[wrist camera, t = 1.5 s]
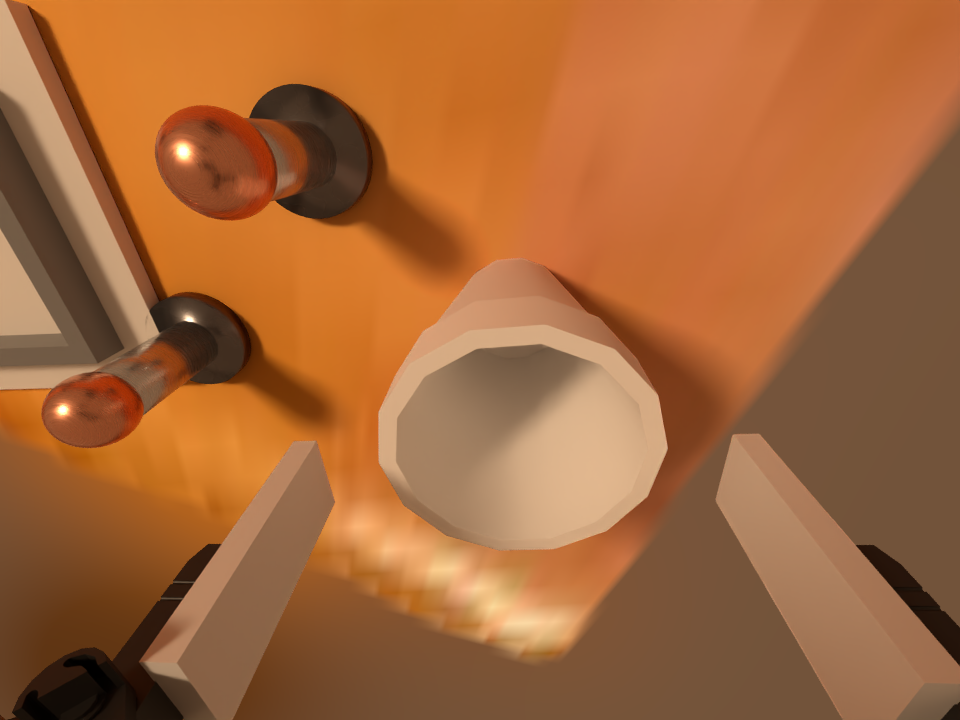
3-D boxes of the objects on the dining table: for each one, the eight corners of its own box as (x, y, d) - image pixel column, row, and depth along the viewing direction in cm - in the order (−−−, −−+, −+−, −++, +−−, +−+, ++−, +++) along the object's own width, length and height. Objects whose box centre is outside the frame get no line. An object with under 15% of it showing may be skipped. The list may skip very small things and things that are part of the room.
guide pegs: (143, 338, 28) (-27, 434, 19) (292, 54, 20) (121, -8, 11) (227, 391, 29) (107, 502, 21) (395, 149, 21) (318, 160, 13)
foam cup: (416, 348, 27) (351, 508, 15) (462, 205, 23) (417, 279, 11) (554, 394, 28) (586, 575, 17) (622, 265, 24) (729, 389, 12)
